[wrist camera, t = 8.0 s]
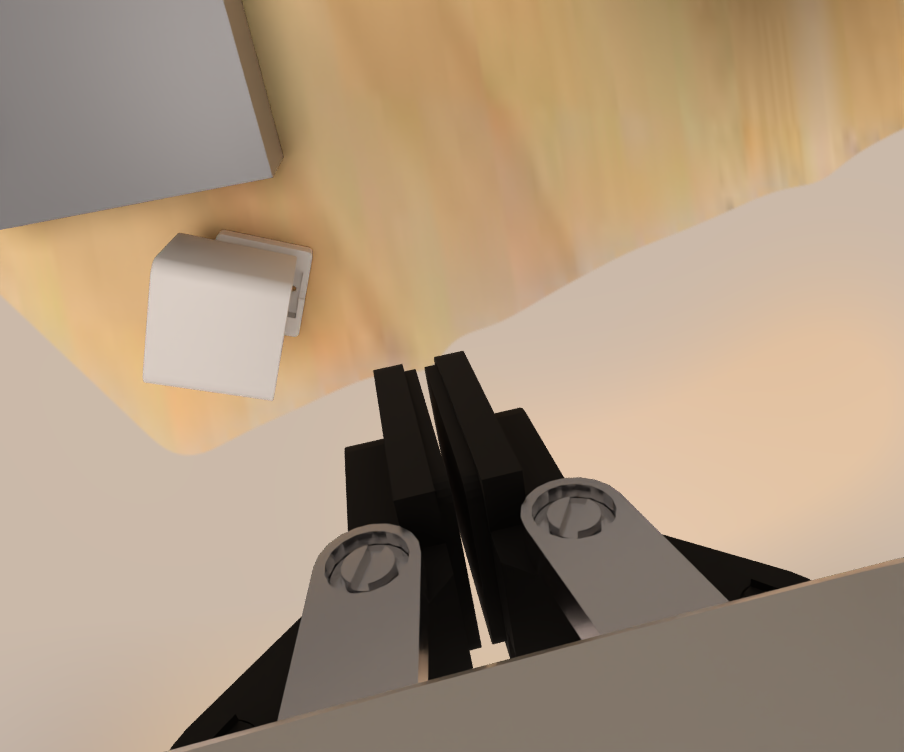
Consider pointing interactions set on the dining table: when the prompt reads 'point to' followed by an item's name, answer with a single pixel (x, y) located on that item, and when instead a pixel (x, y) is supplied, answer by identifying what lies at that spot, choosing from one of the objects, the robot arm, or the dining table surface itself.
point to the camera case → (126, 104)
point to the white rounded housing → (223, 312)
